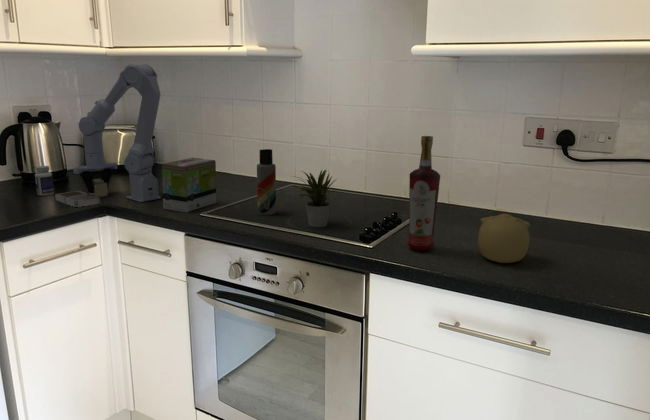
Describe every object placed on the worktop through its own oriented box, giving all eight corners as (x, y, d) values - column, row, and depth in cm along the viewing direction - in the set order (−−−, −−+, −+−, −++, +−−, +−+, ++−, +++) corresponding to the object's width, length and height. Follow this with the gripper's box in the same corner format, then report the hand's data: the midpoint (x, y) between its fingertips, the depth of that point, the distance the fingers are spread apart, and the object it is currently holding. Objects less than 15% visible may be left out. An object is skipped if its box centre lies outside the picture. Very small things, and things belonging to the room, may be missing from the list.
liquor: (438, 246, 134) (445, 135, 127) (431, 255, 127) (439, 139, 120) (409, 242, 137) (415, 134, 130) (402, 251, 130) (408, 137, 123)
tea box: (188, 213, 162) (185, 165, 158) (162, 209, 166) (159, 163, 162) (217, 203, 175) (216, 158, 171) (193, 199, 179) (191, 156, 176)
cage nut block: (108, 195, 183) (106, 180, 182) (95, 197, 180) (93, 181, 179) (101, 193, 186) (100, 178, 185) (89, 195, 183) (87, 180, 181)
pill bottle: (57, 192, 186) (54, 165, 184) (48, 196, 181) (45, 168, 179) (43, 192, 187) (39, 165, 184) (33, 195, 182) (30, 167, 179)
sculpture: (526, 253, 129) (531, 211, 127) (527, 270, 118) (533, 224, 116) (477, 248, 133) (481, 207, 130) (474, 264, 122) (478, 219, 119)
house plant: (298, 215, 161) (298, 162, 157) (343, 218, 159) (345, 164, 154) (287, 228, 147) (287, 171, 143) (336, 232, 145) (337, 173, 141)
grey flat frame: (100, 203, 172) (99, 197, 172) (75, 208, 166) (75, 201, 166) (79, 196, 182) (78, 190, 181) (55, 200, 176) (54, 194, 175)
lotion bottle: (259, 215, 160) (257, 150, 155) (256, 211, 165) (255, 147, 160) (277, 214, 162) (276, 149, 156) (274, 210, 167) (273, 147, 162)
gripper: (108, 149, 187) (112, 186, 190) (67, 153, 176) (71, 193, 180) (119, 151, 183) (122, 189, 186) (77, 155, 172) (81, 196, 175)
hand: (98, 191), depth 183 cm, fingers closed on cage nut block, 4 cm apart
